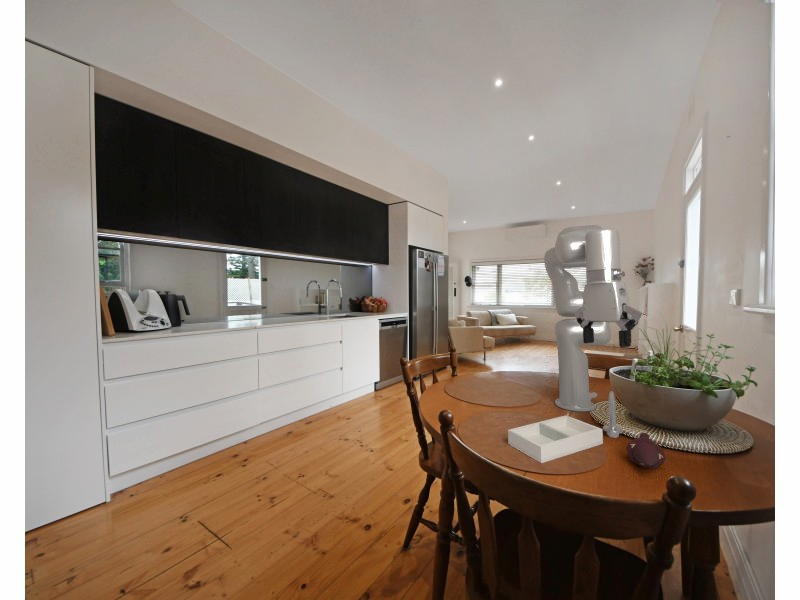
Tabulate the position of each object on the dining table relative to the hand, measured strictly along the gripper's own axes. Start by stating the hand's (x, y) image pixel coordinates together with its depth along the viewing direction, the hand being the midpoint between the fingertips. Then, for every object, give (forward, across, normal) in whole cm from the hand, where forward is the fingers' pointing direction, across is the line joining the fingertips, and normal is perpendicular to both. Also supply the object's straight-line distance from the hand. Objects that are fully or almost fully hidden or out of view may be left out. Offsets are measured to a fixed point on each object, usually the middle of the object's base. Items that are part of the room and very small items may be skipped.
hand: (606, 344), depth 83 cm
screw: (+28, +7, -10) cm, 31 cm away
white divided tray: (+28, +10, +8) cm, 31 cm away
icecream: (+28, -7, -2) cm, 29 cm away
